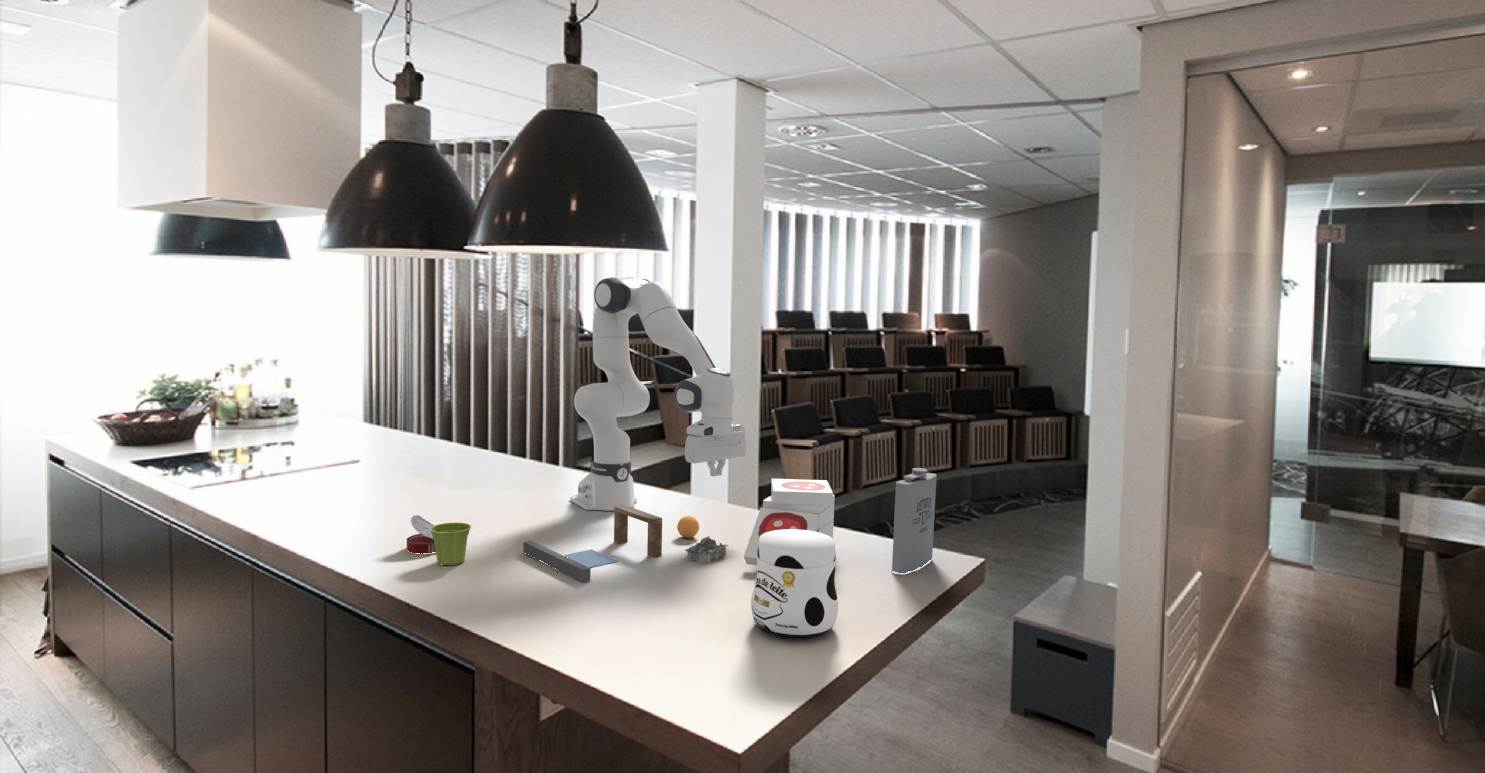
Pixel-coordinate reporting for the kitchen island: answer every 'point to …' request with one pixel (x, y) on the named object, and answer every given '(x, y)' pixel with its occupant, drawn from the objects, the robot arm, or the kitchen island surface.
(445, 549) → the plant pot
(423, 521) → the canned food
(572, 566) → the stopper wall
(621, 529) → the bridge
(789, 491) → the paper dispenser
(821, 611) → the milk container
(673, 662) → the kitchen island surface
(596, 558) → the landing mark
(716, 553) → the egg carton
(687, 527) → the ball
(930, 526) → the flask
